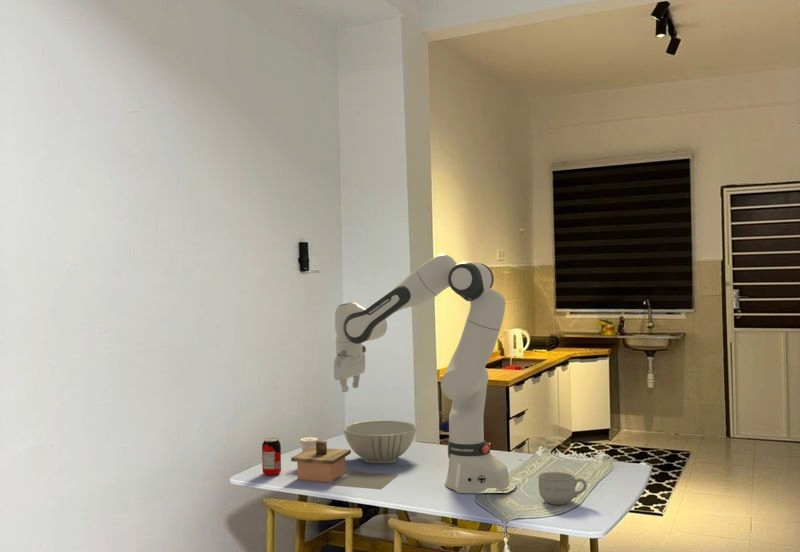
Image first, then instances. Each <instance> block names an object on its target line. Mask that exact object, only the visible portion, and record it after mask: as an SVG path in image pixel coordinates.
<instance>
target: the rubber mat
mask: <svg viewBox="0 0 800 552" xmlns="http://www.w3.org/2000/svg"><path fill="white" fill-rule="evenodd" d="M398 476H399V474H392V473H381V472H369V471H367V472H364V471H353V470H352V471H350V472H349V473H347V474H346V475H345V476H343V477H341V478H340V479H339V480H337V481H336V482H334V483H333V484H332V486H336V487H346V488H347V487H348V488H349V487H350V488H361V489H374V490H382V489H383V488H385V487H386V486H387V485H389V484H390V483H391V482H392V481H394V479H396V478H397V477H398Z"/></svg>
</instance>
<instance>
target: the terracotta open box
mask: <svg viewBox="0 0 800 552" xmlns="http://www.w3.org/2000/svg"><path fill="white" fill-rule="evenodd" d="M296 463H297V465H296V466H297V481H305V482H317V483H330V484H331V483H333V482H334V481H336V480H337V479H339V478H340V477H341V476H344V474H346V457H344V458H342V459H341V460H339V461H337V462H336V463H334V464H320V463H306V462H296Z"/></svg>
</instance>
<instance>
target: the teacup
mask: <svg viewBox="0 0 800 552" xmlns="http://www.w3.org/2000/svg"><path fill="white" fill-rule="evenodd" d="M537 475H538V476H537V477H538V491H539V493H538V494H539V496H540V497H541V498H542V499H543V500H544V501H545V502H546V503H547V504H550V505H557V504H562V505H566V504H565V503H567V504H569V503H570V502H571V501H572V500H574V499H576V498H577V497H578V496H579V495H581V494H583V493H584V492H585V491H586V490H587V487H588V484H587V480H585V478H582V477H577V478H576V475H575V474H572V473H570V472H569V473H568V472H563V471H561V472H560V471H547V472H541V473H539V474H537ZM578 482H581V483H582V485H583V486H582V488H581V489H580V490H578V491H576V487H577V484H578ZM568 502H569V503H568Z"/></svg>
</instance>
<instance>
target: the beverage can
mask: <svg viewBox="0 0 800 552" xmlns="http://www.w3.org/2000/svg"><path fill="white" fill-rule="evenodd" d="M279 440H280V439H279V438H278V437H266V438H264V439H263V442H262V445H261V453H262V455H261V457H262V462H261V463H262V466H261V467H262V473H263V474H264V475H265V476H267V477H274V476H278V475H279V474H280V473H281V472H282V457H281V456H282V451H281V449H282V448H281V447H282V446H281V445H282V444H281V442H280V441H279Z"/></svg>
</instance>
